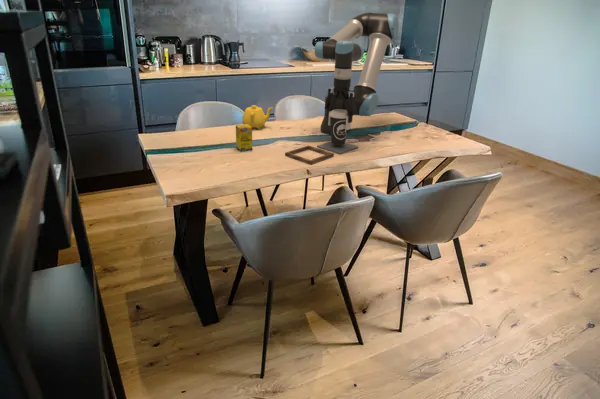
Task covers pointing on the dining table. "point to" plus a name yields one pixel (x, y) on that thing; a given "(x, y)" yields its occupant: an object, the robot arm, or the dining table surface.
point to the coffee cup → (338, 126)
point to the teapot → (255, 116)
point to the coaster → (337, 147)
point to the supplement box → (243, 137)
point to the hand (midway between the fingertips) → (339, 127)
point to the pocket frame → (291, 155)
